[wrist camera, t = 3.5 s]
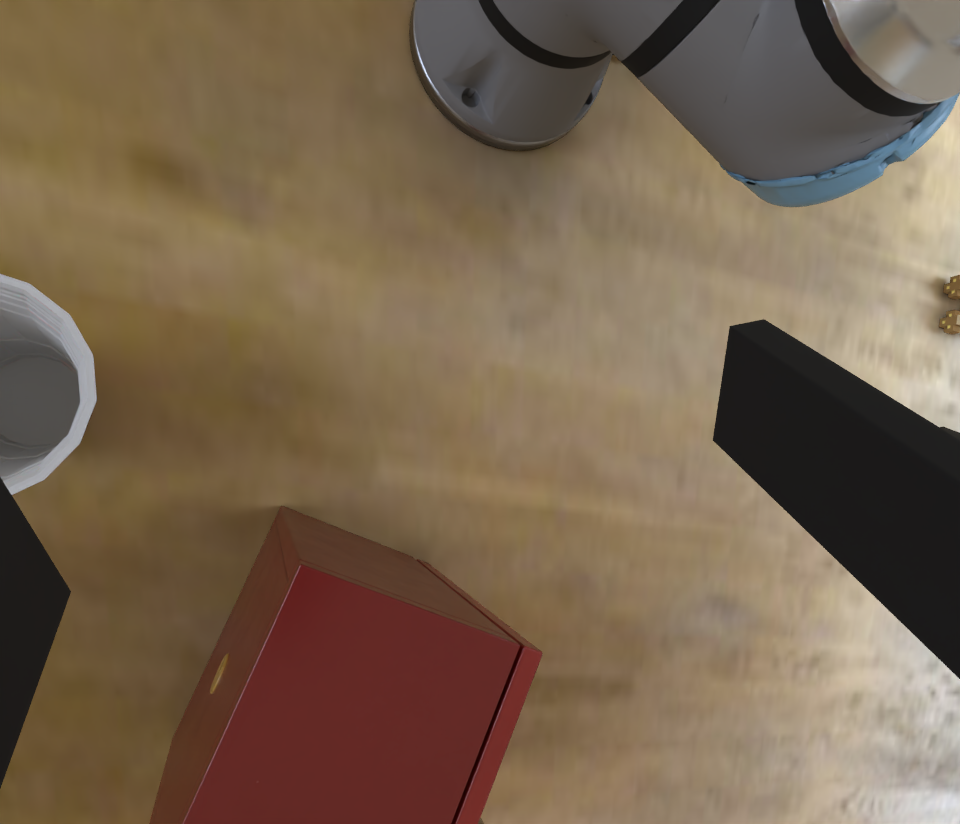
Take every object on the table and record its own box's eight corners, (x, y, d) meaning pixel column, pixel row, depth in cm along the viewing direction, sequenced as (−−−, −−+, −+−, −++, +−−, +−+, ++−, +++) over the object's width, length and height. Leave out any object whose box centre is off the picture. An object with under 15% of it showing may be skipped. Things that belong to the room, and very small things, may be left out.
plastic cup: (173, 365, 41) (141, 341, 30) (79, 517, 39) (8, 552, 28) (-2, 275, 38) (-110, 210, 27) (-113, 434, 36) (-280, 436, 25)
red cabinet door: (511, 595, 48) (670, 699, 30) (427, 808, 46) (544, 1066, 27) (416, 558, 46) (524, 645, 28) (322, 780, 44) (371, 1041, 25)
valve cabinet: (412, 556, 46) (520, 645, 27) (318, 778, 44) (366, 1044, 25) (281, 505, 43) (300, 563, 24) (172, 739, 41) (98, 1006, 22)
